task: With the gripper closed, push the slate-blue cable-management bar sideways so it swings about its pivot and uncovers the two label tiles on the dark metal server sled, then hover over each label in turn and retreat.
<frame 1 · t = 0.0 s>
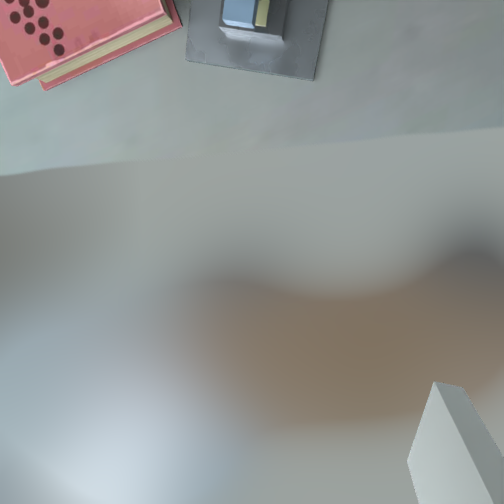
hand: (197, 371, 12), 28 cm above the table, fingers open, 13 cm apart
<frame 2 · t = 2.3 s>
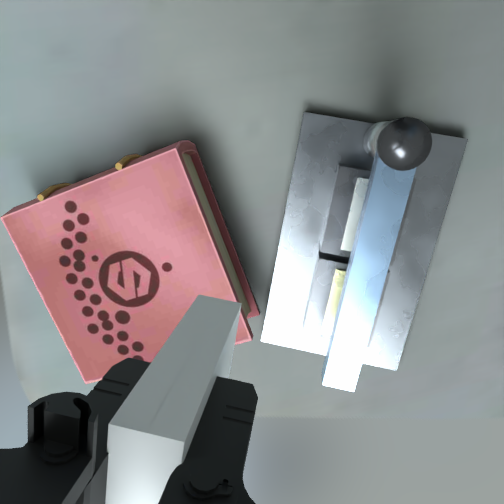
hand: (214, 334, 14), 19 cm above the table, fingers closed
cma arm: (368, 265, 24), point 8 cm above the table, hinge at 0.0°
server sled: (352, 247, 32), on the table
book: (150, 252, 35), on the table
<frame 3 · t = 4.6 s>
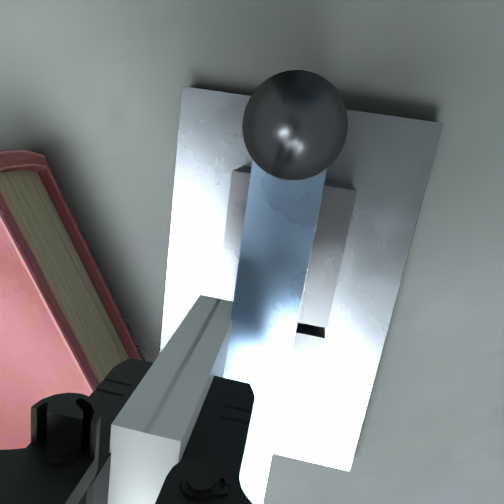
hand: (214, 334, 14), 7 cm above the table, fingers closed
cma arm: (259, 348, 13), point 8 cm above the table, hinge at 0.1°, touching gripper
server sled: (276, 291, 21), on the table
book: (7, 308, 25), on the table
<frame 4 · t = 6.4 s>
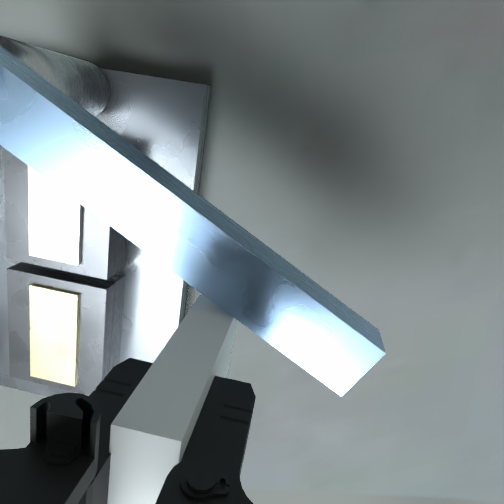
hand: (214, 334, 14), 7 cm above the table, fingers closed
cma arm: (149, 209, 13), point 8 cm above the table, hinge at 62.9°, touching gripper
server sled: (89, 251, 22), on the table
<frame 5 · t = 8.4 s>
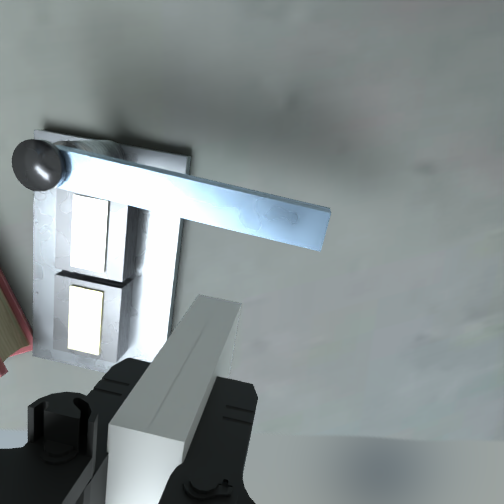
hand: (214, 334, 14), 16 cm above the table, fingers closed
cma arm: (171, 193, 21), point 8 cm above the table, hinge at 87.3°
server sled: (108, 262, 32), on the table
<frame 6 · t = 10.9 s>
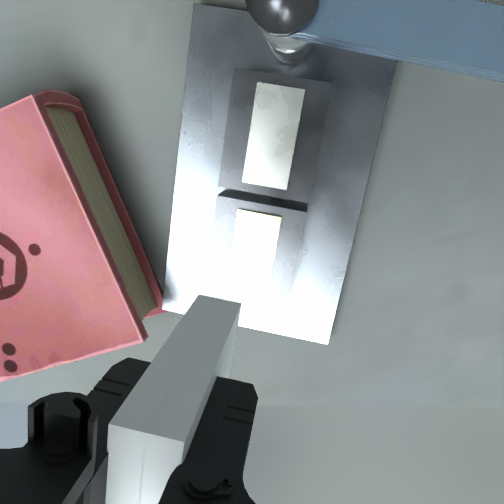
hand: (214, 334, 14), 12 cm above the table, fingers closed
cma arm: (471, 37, 15), point 8 cm above the table, hinge at 87.3°
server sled: (268, 187, 25), on the table
book: (39, 235, 29), on the table
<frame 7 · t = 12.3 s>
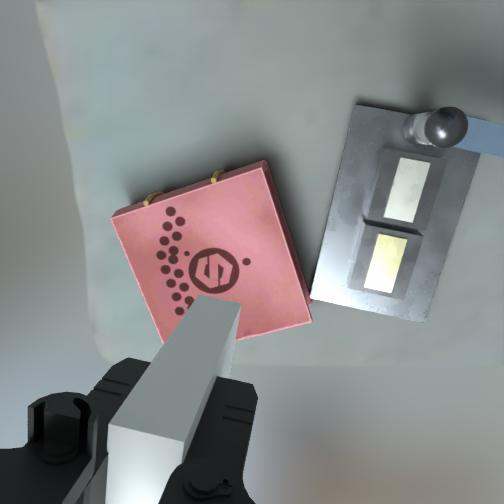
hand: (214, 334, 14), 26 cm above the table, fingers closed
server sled: (389, 218, 38), on the table
book: (221, 250, 42), on the table
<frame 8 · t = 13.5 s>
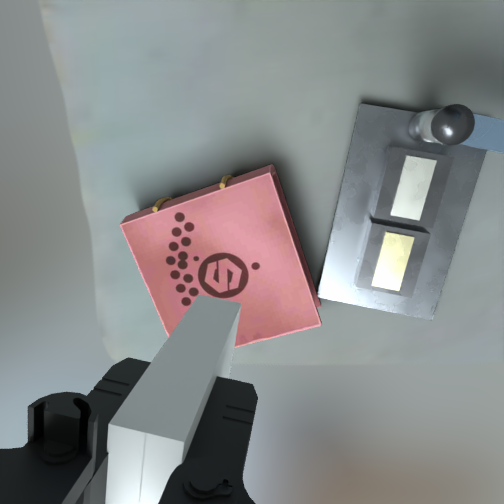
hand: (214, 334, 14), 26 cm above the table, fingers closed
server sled: (396, 216, 38), on the table
book: (230, 254, 42), on the table
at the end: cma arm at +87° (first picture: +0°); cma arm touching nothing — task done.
